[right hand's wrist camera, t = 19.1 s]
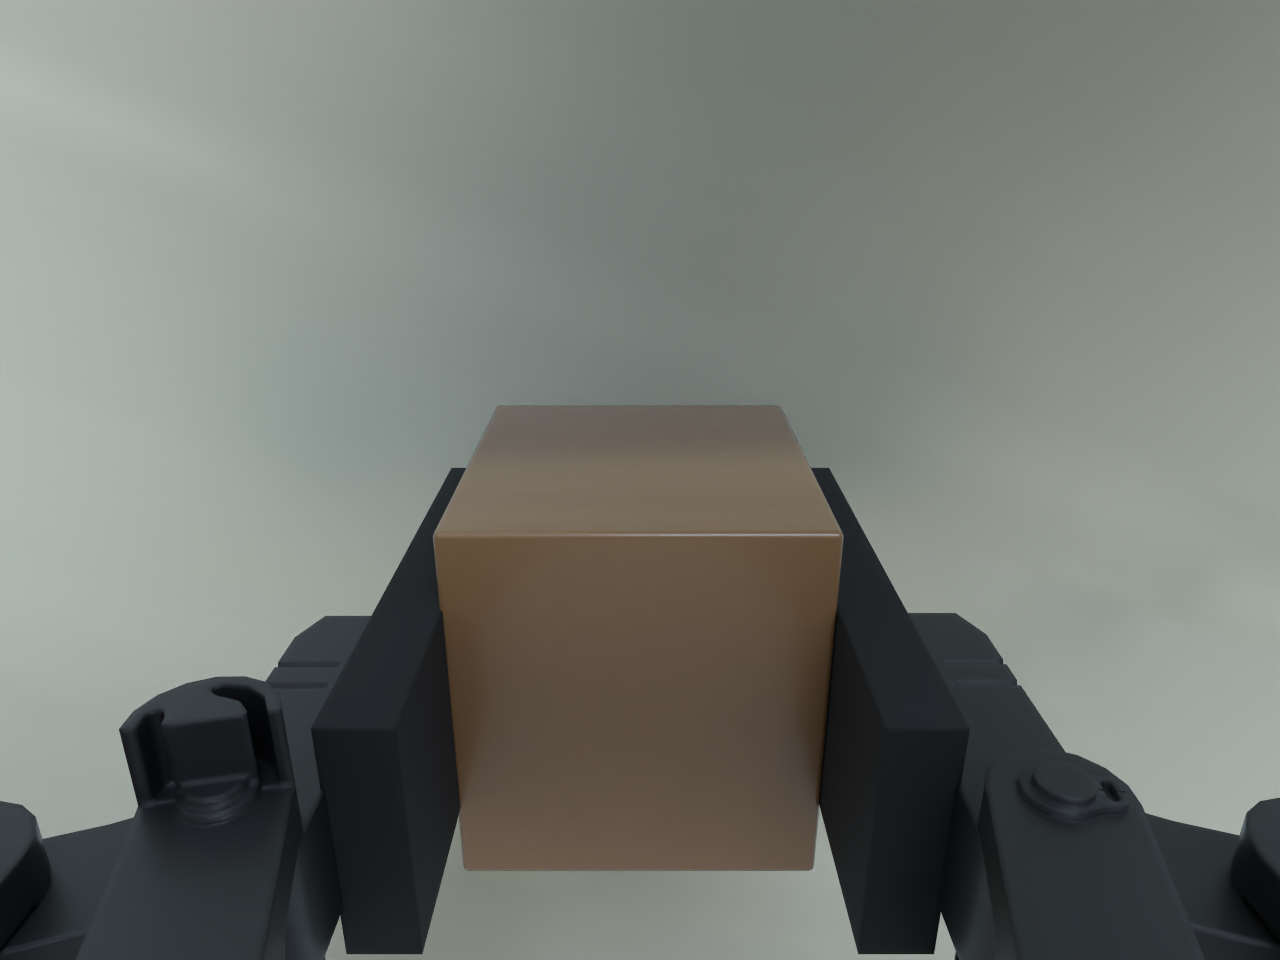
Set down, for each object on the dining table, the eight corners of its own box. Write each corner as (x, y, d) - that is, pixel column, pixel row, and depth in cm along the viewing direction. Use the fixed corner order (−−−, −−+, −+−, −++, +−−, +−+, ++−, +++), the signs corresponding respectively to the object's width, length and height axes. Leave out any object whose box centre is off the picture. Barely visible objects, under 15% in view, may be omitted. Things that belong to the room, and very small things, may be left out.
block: (495, 404, 14) (430, 533, 10) (781, 404, 14) (845, 533, 10) (512, 664, 16) (462, 873, 11) (765, 664, 16) (814, 872, 11)
